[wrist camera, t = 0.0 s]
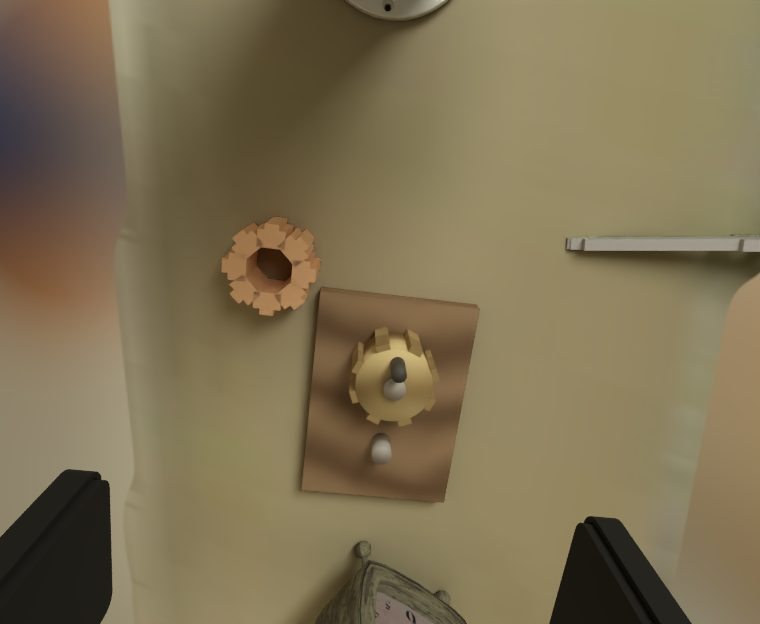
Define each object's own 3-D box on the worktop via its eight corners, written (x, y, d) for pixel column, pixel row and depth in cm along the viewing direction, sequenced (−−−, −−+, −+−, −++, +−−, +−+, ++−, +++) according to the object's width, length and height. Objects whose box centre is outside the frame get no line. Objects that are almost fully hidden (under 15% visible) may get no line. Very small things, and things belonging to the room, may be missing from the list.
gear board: (321, 287, 47) (312, 314, 39) (476, 304, 47) (498, 335, 39) (303, 480, 52) (291, 540, 44) (441, 493, 53) (455, 553, 45)
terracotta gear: (237, 211, 44) (223, 218, 40) (324, 222, 45) (320, 229, 41) (233, 295, 47) (219, 310, 42) (316, 305, 47) (311, 320, 43)
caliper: (793, 229, 46) (857, 240, 40) (791, 241, 47) (854, 254, 41) (565, 237, 46) (595, 249, 40) (564, 249, 46) (594, 263, 40)
